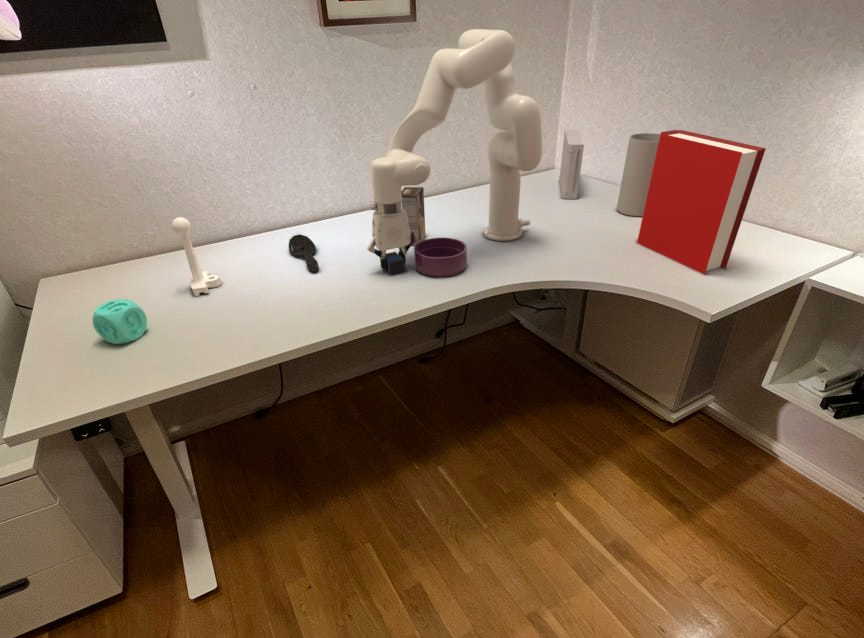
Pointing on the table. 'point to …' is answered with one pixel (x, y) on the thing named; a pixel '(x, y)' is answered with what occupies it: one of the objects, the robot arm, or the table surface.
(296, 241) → the hairbrush
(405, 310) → the table surface
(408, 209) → the coffee box
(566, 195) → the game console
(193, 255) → the joystick
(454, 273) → the bowl
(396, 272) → the eraser
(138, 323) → the decorative dice
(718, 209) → the book
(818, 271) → the table surface
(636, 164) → the cylinder vase
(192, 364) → the table surface
